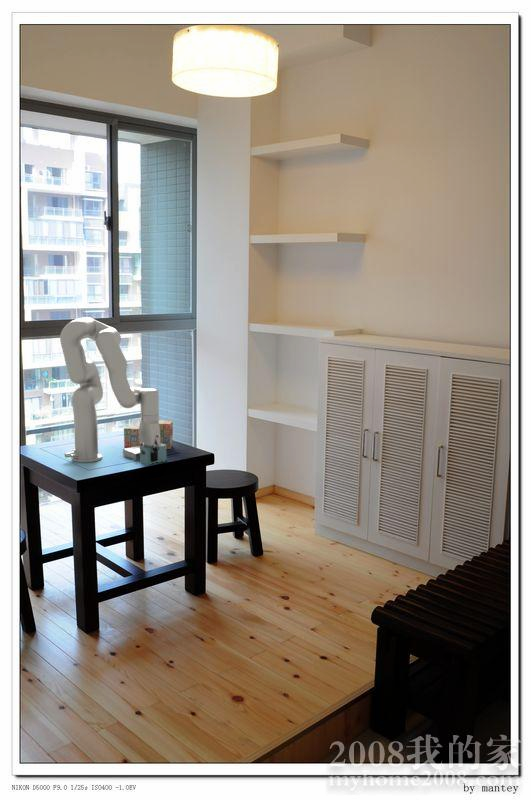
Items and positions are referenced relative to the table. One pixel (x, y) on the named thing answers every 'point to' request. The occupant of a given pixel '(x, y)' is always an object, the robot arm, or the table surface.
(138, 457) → the wooden bookend
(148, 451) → the teal cabinet
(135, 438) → the stack of blocks
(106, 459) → the table surface
